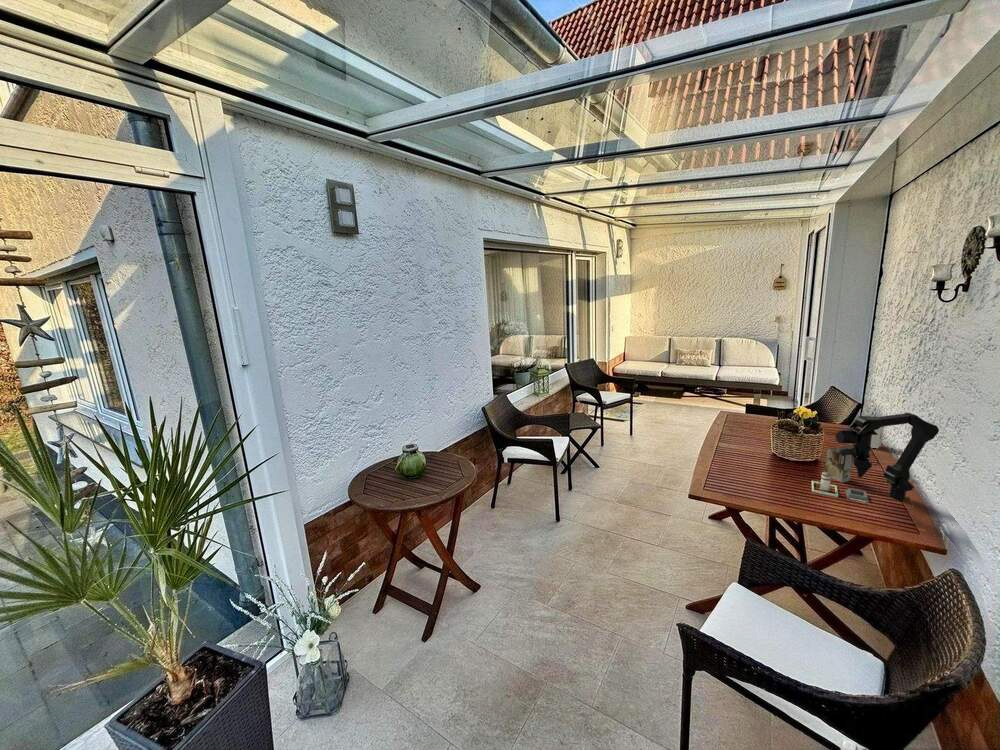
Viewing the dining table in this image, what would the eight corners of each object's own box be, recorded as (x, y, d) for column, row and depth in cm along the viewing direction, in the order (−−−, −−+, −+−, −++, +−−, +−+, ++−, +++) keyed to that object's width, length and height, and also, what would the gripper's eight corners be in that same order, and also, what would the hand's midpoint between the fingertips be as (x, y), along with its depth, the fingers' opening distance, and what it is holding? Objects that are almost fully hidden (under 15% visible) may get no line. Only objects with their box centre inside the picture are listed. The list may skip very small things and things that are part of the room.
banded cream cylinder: (819, 487, 210) (821, 471, 208) (828, 489, 208) (831, 472, 206) (819, 490, 207) (822, 474, 205) (829, 492, 205) (831, 475, 203)
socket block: (845, 491, 206) (845, 486, 206) (866, 495, 202) (867, 490, 201) (846, 499, 198) (847, 494, 198) (868, 504, 194) (869, 499, 193)
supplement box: (878, 450, 253) (882, 427, 250) (859, 446, 260) (862, 423, 257) (881, 446, 258) (885, 423, 255) (862, 442, 265) (866, 420, 262)
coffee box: (850, 481, 216) (854, 453, 212) (842, 484, 214) (846, 455, 210) (831, 474, 224) (835, 446, 221) (823, 476, 222) (827, 448, 219)
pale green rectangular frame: (811, 483, 215) (811, 480, 215) (835, 488, 209) (836, 485, 209) (812, 493, 205) (812, 490, 205) (837, 498, 200) (838, 495, 199)
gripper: (839, 434, 207) (836, 463, 211) (841, 446, 193) (838, 477, 196) (869, 437, 201) (865, 467, 204) (873, 451, 186) (869, 482, 189)
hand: (858, 473), depth 199 cm, fingers open, 9 cm apart
